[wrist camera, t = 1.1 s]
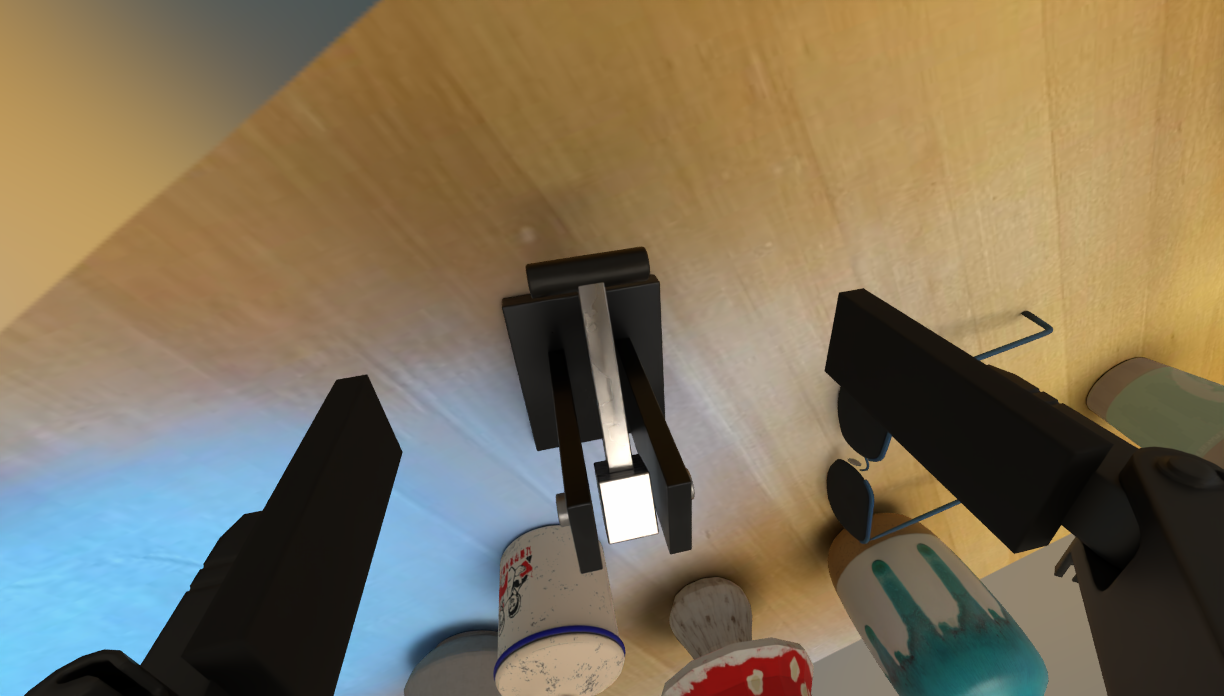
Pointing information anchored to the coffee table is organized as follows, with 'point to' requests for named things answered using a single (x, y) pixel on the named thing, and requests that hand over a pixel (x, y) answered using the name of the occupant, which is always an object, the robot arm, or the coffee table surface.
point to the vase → (930, 616)
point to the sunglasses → (877, 458)
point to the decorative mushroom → (731, 647)
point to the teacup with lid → (554, 620)
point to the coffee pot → (457, 667)
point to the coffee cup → (1162, 408)
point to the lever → (606, 381)
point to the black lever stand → (569, 412)
